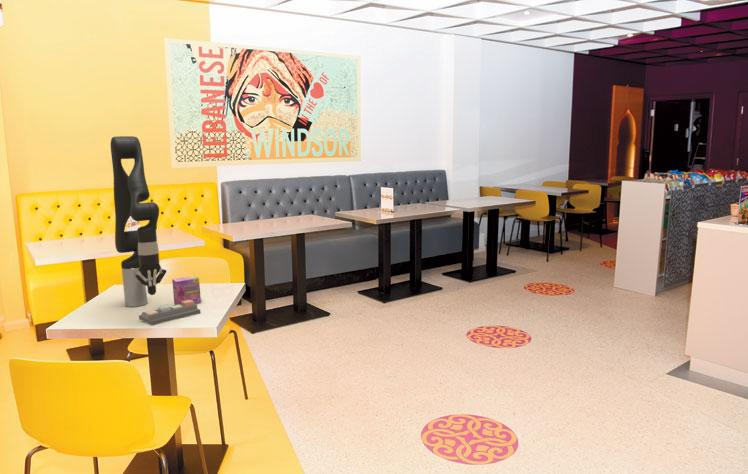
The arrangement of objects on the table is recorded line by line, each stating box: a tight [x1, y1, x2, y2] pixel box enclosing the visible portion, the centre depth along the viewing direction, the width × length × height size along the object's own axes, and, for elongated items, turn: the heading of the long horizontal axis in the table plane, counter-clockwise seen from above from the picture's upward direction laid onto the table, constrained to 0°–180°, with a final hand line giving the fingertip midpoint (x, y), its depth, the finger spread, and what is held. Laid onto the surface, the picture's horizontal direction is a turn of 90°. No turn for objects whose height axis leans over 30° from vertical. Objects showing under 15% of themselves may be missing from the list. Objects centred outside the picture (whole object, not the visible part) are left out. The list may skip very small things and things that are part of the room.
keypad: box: [138, 303, 201, 326], centre depth 233 cm, size 12×21×3 cm, turn 135°
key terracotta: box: [181, 300, 194, 307], centre depth 237 cm, size 4×4×2 cm
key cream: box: [145, 309, 158, 315], centre depth 227 cm, size 4×4×2 cm
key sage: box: [169, 304, 183, 310], centre depth 234 cm, size 4×4×2 cm
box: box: [171, 275, 202, 305], centre depth 249 cm, size 10×6×12 cm, turn 126°
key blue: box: [156, 304, 171, 312], centre depth 230 cm, size 4×4×2 cm
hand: (152, 294), depth 226 cm, fingers closed
